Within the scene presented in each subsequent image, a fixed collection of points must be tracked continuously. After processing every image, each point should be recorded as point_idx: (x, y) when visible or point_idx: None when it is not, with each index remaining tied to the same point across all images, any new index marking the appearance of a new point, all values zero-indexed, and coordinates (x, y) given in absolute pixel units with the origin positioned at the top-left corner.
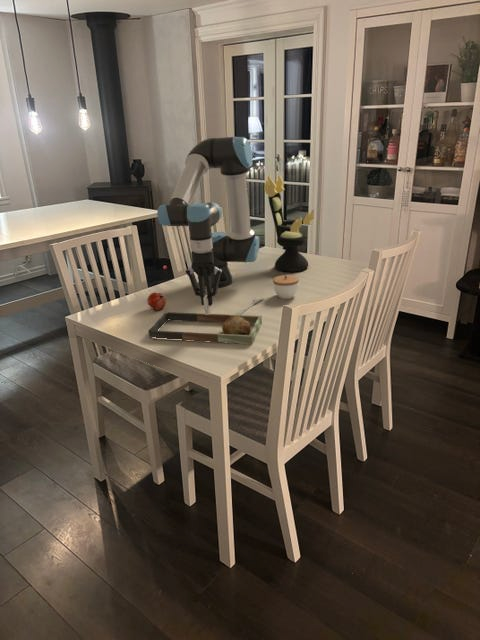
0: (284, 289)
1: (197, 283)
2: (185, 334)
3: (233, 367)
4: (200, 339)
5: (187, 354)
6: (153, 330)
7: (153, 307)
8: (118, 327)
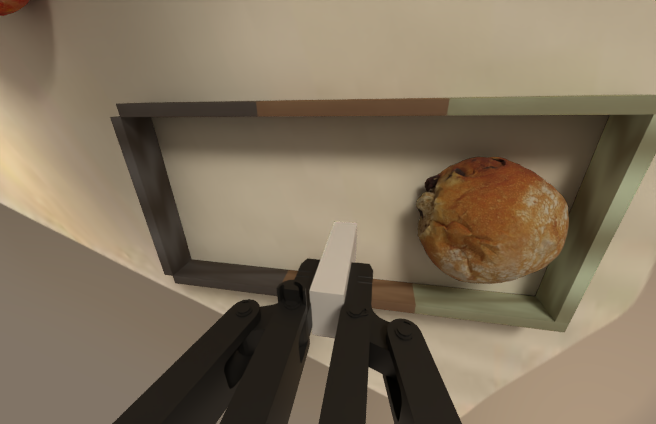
0: None
1: (187, 394)
2: None
3: (475, 404)
4: None
5: None
6: (174, 257)
7: (2, 15)
8: (48, 192)
